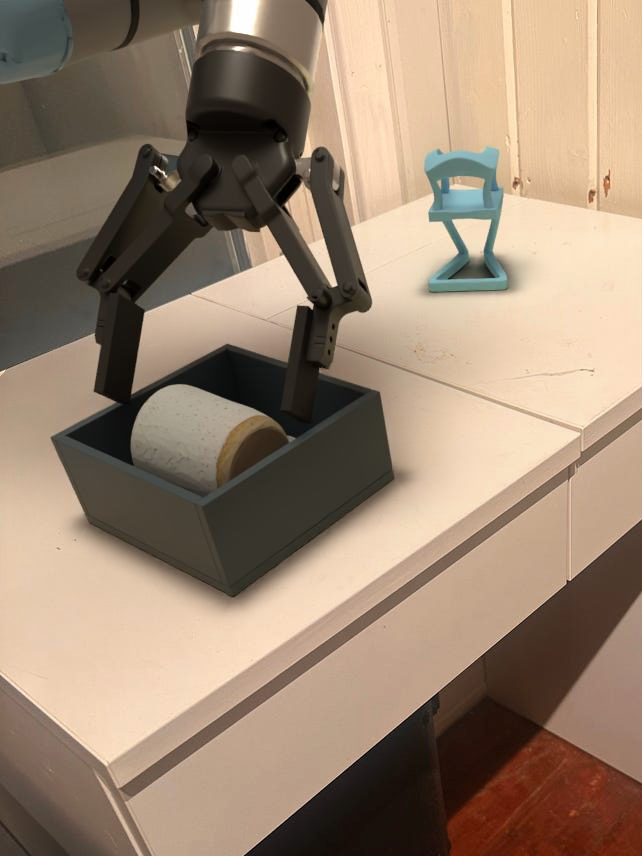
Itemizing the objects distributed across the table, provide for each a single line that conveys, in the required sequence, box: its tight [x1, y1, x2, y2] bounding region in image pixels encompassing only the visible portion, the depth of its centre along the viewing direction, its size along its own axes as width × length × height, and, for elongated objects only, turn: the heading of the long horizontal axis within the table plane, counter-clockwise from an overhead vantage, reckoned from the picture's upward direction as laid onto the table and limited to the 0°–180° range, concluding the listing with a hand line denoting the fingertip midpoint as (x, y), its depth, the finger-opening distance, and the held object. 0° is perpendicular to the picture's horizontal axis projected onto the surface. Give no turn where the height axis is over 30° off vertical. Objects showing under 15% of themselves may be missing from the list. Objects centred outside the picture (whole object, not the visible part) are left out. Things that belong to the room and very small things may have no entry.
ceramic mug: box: [131, 384, 296, 498], centre depth 62 cm, size 11×8×8 cm
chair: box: [423, 145, 509, 293], centre depth 87 cm, size 8×8×12 cm
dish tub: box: [50, 343, 395, 597], centre depth 62 cm, size 15×15×7 cm
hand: (200, 408), depth 59 cm, fingers open, 13 cm apart
